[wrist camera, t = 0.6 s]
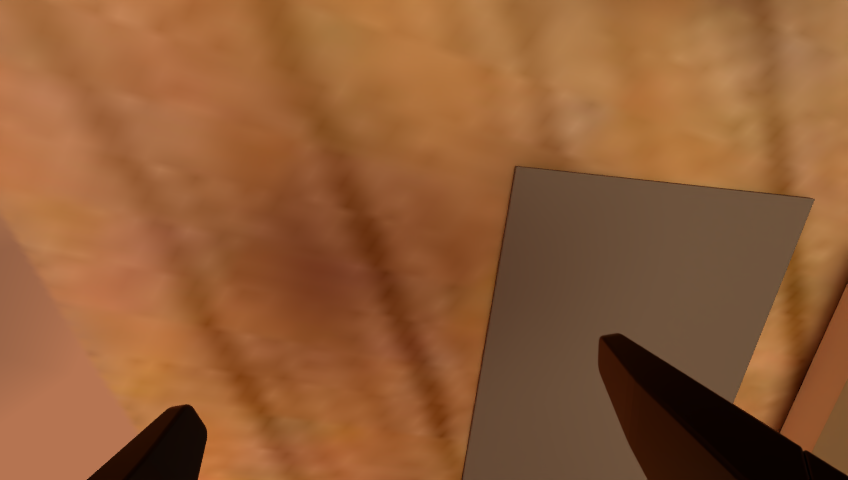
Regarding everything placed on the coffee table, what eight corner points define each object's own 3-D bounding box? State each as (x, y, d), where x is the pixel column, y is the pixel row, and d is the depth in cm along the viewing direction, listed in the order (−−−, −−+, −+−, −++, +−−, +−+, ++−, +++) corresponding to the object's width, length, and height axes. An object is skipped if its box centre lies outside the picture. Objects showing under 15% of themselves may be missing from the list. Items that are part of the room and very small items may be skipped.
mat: (688, 504, 29) (691, 508, 29) (461, 482, 29) (461, 486, 29) (809, 197, 22) (814, 199, 22) (515, 165, 22) (516, 166, 22)
